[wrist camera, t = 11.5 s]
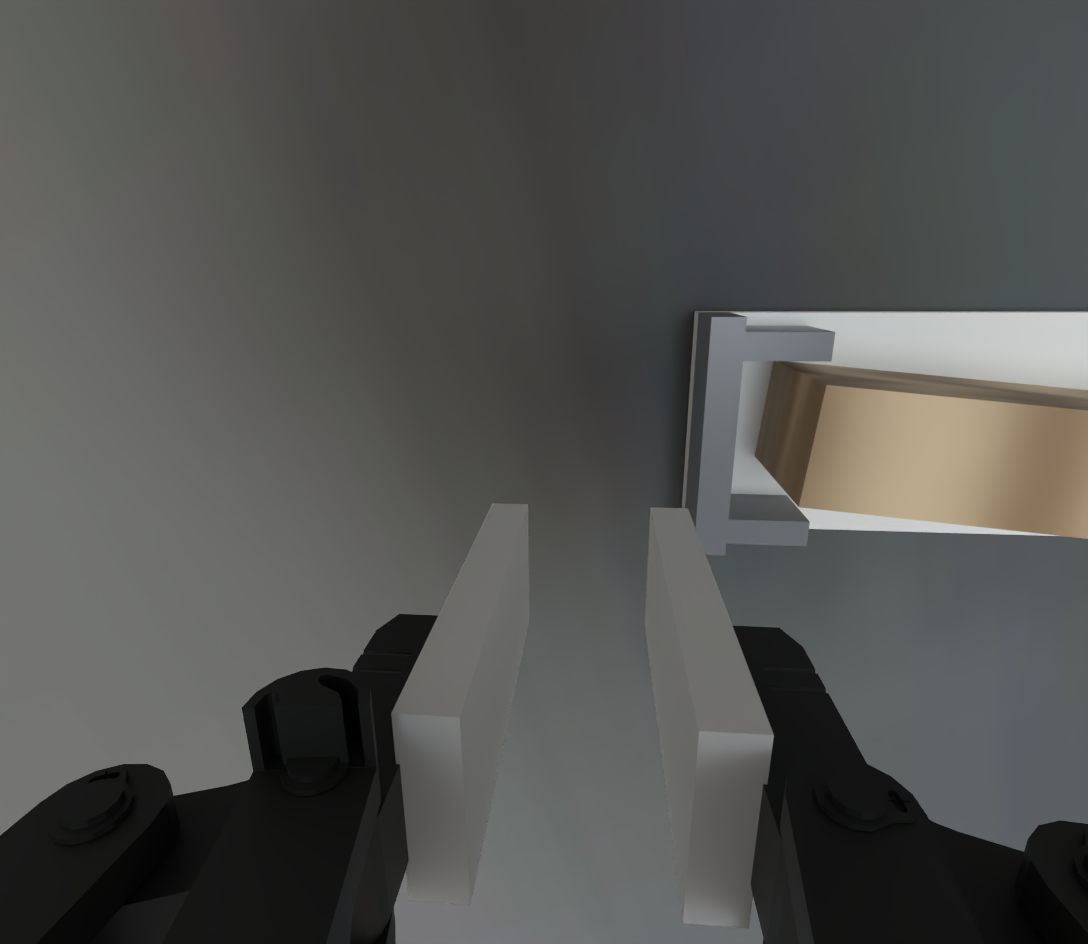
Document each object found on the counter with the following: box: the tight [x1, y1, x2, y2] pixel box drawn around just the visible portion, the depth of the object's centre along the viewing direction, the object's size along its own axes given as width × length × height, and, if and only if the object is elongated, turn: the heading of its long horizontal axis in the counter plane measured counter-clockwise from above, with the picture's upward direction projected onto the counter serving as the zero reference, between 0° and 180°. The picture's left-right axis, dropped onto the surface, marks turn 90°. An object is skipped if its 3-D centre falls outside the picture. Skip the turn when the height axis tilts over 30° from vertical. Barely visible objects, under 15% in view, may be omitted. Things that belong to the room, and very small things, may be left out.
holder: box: [682, 311, 1088, 556], centre depth 24 cm, size 9×24×4 cm, turn 90°
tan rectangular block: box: [755, 361, 1088, 539], centre depth 22 cm, size 14×4×6 cm, turn 85°
